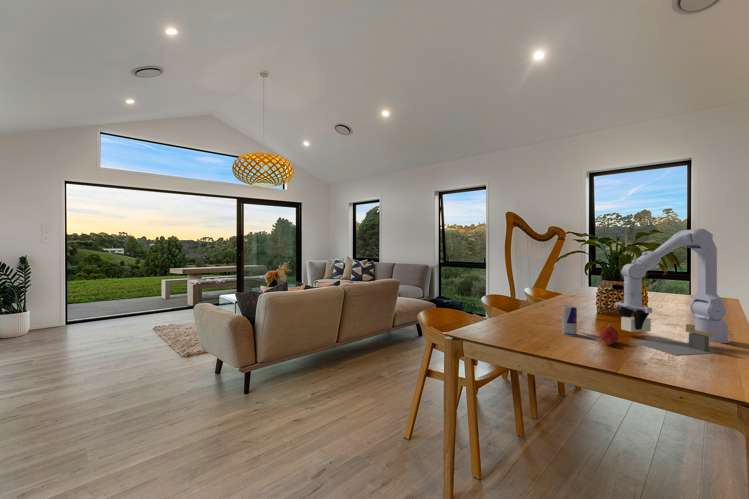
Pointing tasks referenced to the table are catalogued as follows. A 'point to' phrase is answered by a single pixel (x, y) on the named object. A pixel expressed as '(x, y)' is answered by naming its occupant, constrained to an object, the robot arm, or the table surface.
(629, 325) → the cover block
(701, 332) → the brass bolt
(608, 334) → the onion
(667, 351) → the slate board
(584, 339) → the table surface
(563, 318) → the energy drink
